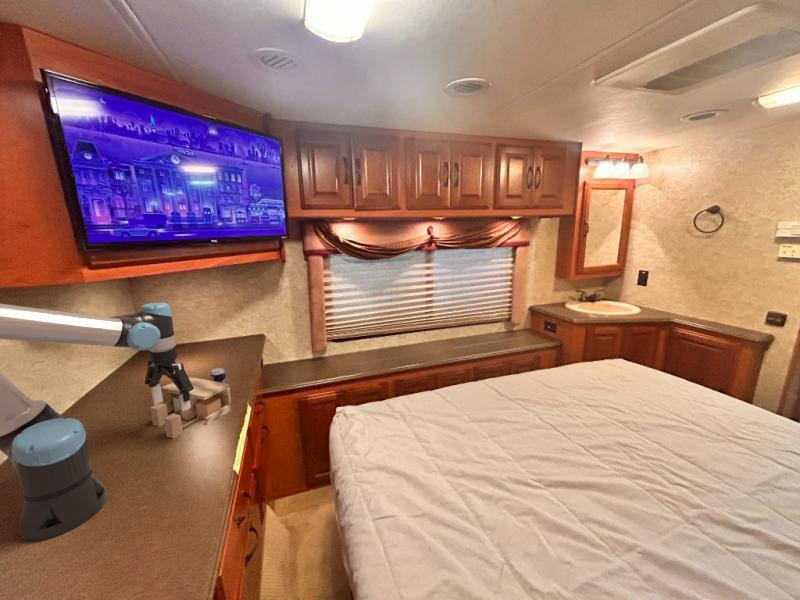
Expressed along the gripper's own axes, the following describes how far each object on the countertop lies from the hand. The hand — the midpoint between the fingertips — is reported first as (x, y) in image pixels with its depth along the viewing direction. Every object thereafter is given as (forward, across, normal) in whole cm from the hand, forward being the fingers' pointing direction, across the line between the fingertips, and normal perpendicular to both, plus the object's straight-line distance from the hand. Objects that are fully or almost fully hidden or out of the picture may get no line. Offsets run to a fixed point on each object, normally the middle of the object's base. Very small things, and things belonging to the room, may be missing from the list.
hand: (172, 406), depth 110 cm
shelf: (+11, +6, -14) cm, 18 cm away
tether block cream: (+11, +12, -9) cm, 19 cm away
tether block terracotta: (+11, 0, -7) cm, 13 cm away
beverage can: (+12, +10, -27) cm, 31 cm away
